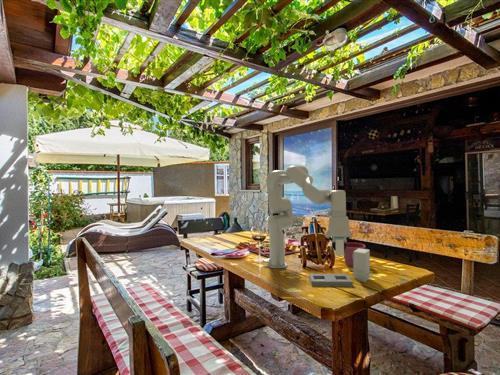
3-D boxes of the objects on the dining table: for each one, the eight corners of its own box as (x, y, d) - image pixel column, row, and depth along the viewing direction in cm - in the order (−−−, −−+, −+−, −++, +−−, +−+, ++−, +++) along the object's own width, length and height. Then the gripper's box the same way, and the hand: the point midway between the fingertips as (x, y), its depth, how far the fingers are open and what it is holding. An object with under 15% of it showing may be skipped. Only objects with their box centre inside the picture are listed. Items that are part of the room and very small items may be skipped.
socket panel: (311, 287, 148) (311, 280, 148) (309, 279, 160) (309, 273, 160) (352, 287, 146) (352, 281, 146) (347, 279, 158) (347, 273, 158)
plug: (335, 255, 150) (335, 237, 150) (334, 253, 154) (334, 236, 154) (344, 255, 150) (343, 237, 150) (342, 253, 154) (342, 236, 154)
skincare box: (358, 276, 164) (358, 247, 163) (370, 278, 160) (370, 249, 159) (352, 280, 157) (352, 250, 157) (365, 282, 153) (365, 252, 153)
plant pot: (348, 269, 176) (348, 248, 176) (337, 263, 190) (337, 243, 189) (370, 267, 179) (370, 246, 178) (357, 261, 192) (357, 241, 192)
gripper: (322, 215, 149) (323, 251, 149) (357, 214, 147) (357, 251, 148) (320, 213, 156) (321, 248, 157) (353, 213, 155) (354, 248, 155)
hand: (339, 249), depth 152 cm, fingers closed on plug, 4 cm apart
